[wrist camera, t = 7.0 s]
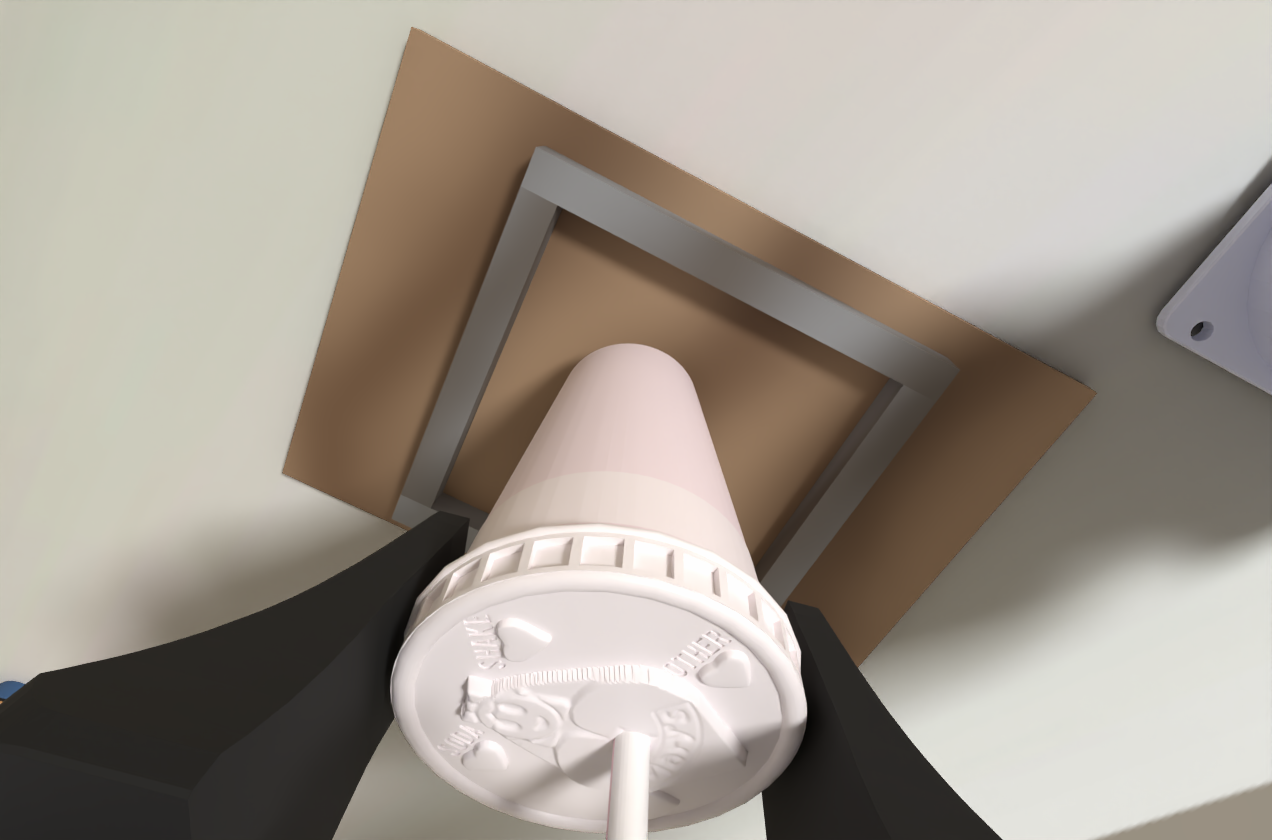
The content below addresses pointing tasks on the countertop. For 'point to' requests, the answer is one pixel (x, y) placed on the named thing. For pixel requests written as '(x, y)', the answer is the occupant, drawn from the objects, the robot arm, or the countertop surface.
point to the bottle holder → (662, 319)
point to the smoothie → (606, 625)
